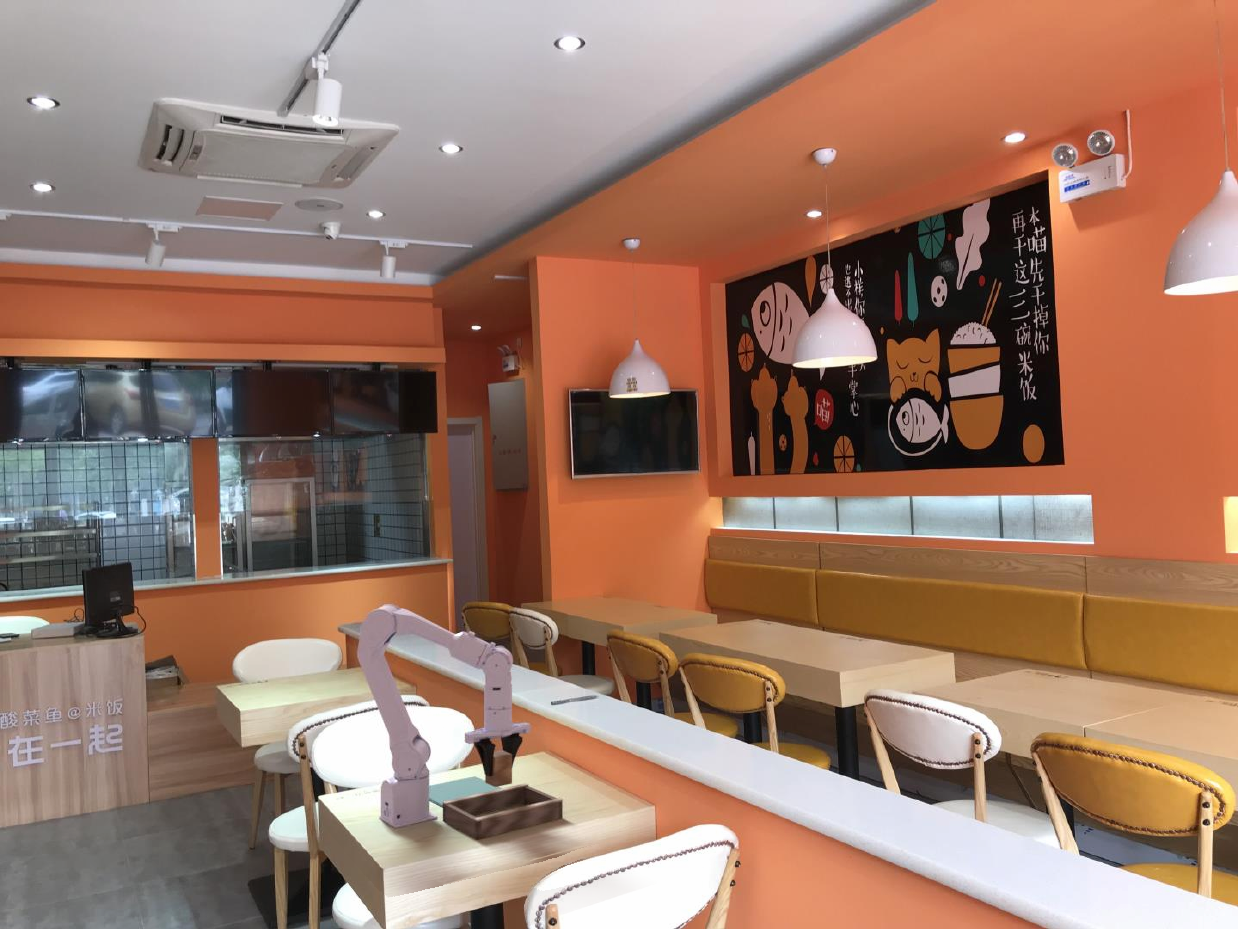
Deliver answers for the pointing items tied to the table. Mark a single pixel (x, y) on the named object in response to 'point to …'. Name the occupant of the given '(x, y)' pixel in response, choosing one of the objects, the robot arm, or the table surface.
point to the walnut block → (500, 769)
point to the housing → (505, 821)
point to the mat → (458, 789)
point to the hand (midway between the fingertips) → (498, 773)
